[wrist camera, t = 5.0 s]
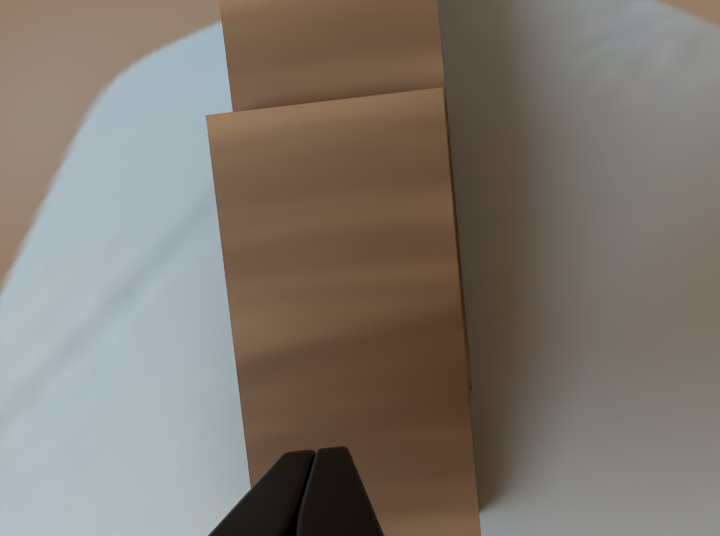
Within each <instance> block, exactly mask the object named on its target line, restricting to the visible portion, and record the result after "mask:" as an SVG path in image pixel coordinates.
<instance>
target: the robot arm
mask: <svg viewBox="0 0 720 536" xmlns="http://www.w3.org/2000/svg"><path fill="white" fill-rule="evenodd" d="M208 536H385V535H384V533H383V531H382V528H381V526H380V523H379V521H378V519H377V516H376V514H375V511H374V509H373V507H372V504H371V502H370V499H369V497H368V495H367V492H366V490H365V487H364V485H363V483H362V480H361V478H360V475H359V473H358V470H357V468H356V466H355V463H354V461H353V458H352V456H351V454H350V451H349V449H348V448H347V447H345V446H338V447H328V448H321V449H319V450H317V451H316V452H315V451H314V450H312V449H309V450H299V451H289V452H286V453H284V454H283V455H282V456H281V457H280V458H279V459H278V460H277V461H276V462H275V463H274V464H273V465H272V466H271V468H270V469H269V470H268V471H267V472H266V473H265V474H264V475H263V476H262V477H261V478H260V480H259V481H258V482H257V483H256V484H255V485H254V486H253V487H252V488H251V489H250V490H249V492H248V493H247V494H246V495H245V496H244V497H243V498H242V499H241V500H240V501H239V503H238V504H237V505H236V506H235V507H234V508H233V509H232V510H231V511H230V512H229V513H228V515H227V516H226V517H225V518H224V519H223V520H222V521H221V522H220V523H219V524H218V526H217V527H216V528H215V529H214V530H213V531H212V532H211V533H210V534H209V535H208Z"/></svg>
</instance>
